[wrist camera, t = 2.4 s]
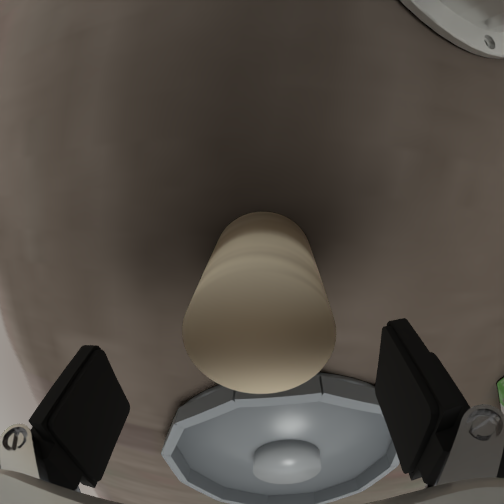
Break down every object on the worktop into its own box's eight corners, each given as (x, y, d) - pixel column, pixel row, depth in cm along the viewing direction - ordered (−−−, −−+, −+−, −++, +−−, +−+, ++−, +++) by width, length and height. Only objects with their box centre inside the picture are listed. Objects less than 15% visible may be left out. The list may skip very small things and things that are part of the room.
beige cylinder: (207, 217, 16) (165, 279, 9) (307, 206, 15) (335, 262, 9) (223, 303, 17) (201, 395, 11) (313, 295, 17) (334, 386, 10)
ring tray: (136, 375, 20) (126, 396, 18) (422, 350, 18) (433, 371, 16) (202, 492, 27) (200, 507, 25) (380, 479, 25) (383, 494, 23)
